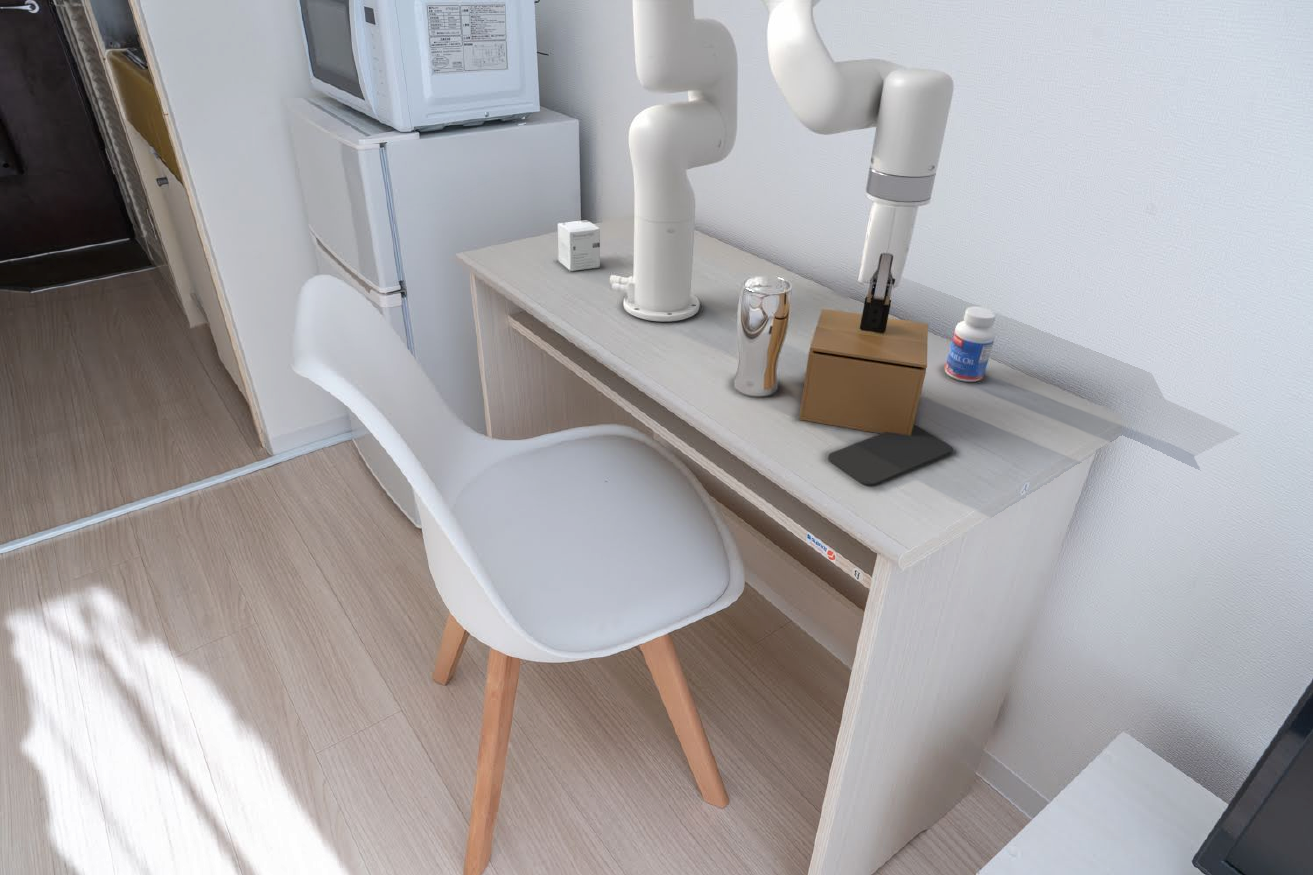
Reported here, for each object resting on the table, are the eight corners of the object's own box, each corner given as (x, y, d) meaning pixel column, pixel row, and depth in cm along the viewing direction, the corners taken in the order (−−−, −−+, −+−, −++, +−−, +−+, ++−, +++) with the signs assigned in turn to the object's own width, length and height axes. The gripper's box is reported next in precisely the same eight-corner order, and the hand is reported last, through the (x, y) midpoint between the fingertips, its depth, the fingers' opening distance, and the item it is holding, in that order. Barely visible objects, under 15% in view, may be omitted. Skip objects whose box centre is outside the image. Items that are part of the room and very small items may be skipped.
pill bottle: (936, 372, 116) (952, 309, 111) (957, 362, 119) (973, 301, 114) (970, 386, 113) (987, 323, 108) (990, 376, 116) (1008, 313, 111)
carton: (811, 375, 114) (821, 308, 109) (912, 391, 111) (928, 323, 106) (798, 419, 104) (809, 347, 98) (910, 438, 100) (927, 365, 95)
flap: (821, 311, 109) (822, 308, 109) (927, 326, 106) (927, 323, 106) (815, 330, 104) (816, 327, 104) (926, 346, 101) (927, 343, 100)
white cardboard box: (570, 272, 146) (569, 232, 142) (558, 261, 150) (556, 222, 146) (600, 267, 148) (600, 228, 144) (587, 257, 153) (587, 218, 149)
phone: (823, 454, 96) (911, 421, 103) (823, 460, 97) (909, 427, 104) (868, 486, 91) (957, 449, 98) (867, 492, 91) (955, 454, 98)
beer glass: (778, 401, 107) (792, 296, 100) (727, 395, 109) (736, 290, 101) (782, 378, 113) (795, 277, 105) (733, 372, 114) (742, 271, 106)
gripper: (871, 167, 101) (848, 304, 110) (862, 198, 89) (837, 348, 98) (932, 173, 99) (904, 311, 109) (932, 206, 87) (900, 358, 97)
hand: (872, 329), depth 103 cm, fingers closed
